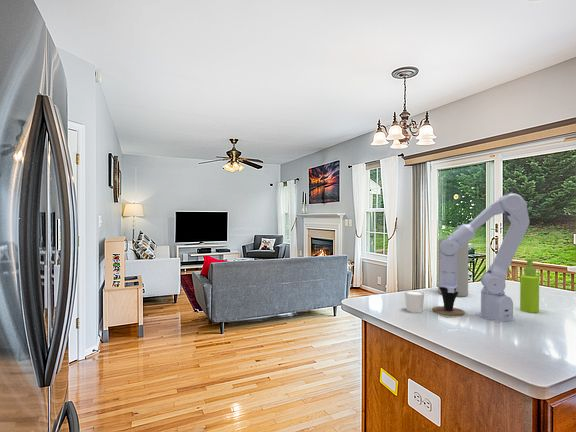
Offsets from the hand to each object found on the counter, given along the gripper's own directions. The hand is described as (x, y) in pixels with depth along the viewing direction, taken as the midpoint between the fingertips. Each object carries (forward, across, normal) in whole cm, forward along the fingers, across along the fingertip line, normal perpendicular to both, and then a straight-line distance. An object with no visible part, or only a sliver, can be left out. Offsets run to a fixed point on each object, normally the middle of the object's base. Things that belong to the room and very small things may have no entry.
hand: (448, 308), depth 126 cm
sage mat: (+2, 0, 0) cm, 2 cm away
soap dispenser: (+2, -14, +30) cm, 34 cm away
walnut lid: (+1, 0, 0) cm, 1 cm away
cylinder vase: (+2, -35, +6) cm, 35 cm away
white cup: (+2, +2, -12) cm, 12 cm away
